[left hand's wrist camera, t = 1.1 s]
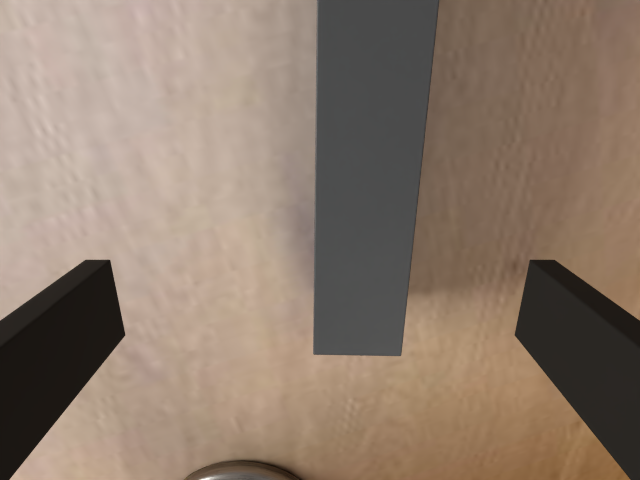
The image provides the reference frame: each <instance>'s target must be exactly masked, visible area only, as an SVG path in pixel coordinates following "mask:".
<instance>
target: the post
mask: <svg viewBox="0 0 640 480" xmlns="http://www.w3.org/2000/svg"><path fill="white" fill-rule="evenodd" d="M438 7H439V0H317V56H316V150H315V243H314V337H313V354H314V355H371V356H401V352H402V343H403V333H404V324H405V315H406V305H407V296H408V287H409V277H410V268H411V259H412V250H413V240H414V231H415V222H416V212H417V203H418V194H419V184H420V175H421V166H422V156H423V147H424V138H425V128H426V119H427V110H428V100H429V91H430V82H431V73H432V63H433V54H434V45H435V35H436V26H437V17H438Z"/></svg>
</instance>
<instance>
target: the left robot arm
mask: <svg viewBox="0 0 640 480" xmlns="http://www.w3.org/2000/svg"><path fill="white" fill-rule="evenodd" d="M124 336H125V331H124V326H123V321H122V316H121V311H120V306H119V302H118V297H117V292H116V287H115V282H114V277H113V272H112V267H111V262H110V260H85V261H83V262H82V263H81V264H79V265H78V266H76V267H75V268H74V269H72V270H71V271H69V272H68V273H67V274H65V275H64V276H62V277H61V278H60V279H58V280H57V281H55V282H54V283H53V284H51V285H50V286H48V287H47V288H46V289H44V290H43V291H41V292H40V293H39V294H37V295H36V296H34V297H33V298H32V299H30V300H29V301H27V302H26V303H25V304H23V305H22V306H20V307H19V308H18V309H16V310H15V311H13V312H12V313H11V314H9V315H8V316H6V317H5V318H3V319H2V320H1V321H0V480H9V479H10V478H11V477H12V476H13V474H14V473H15V472H16V471H17V469H18V468H19V467H20V466H21V464H22V463H23V462H24V461H25V459H26V458H27V457H28V456H29V454H30V453H31V452H32V451H33V449H34V448H35V447H36V446H37V444H38V443H39V442H40V441H41V439H42V438H43V437H44V436H45V435H46V433H47V432H48V431H49V430H50V428H51V427H52V426H53V425H54V423H55V422H56V421H57V420H58V418H59V417H60V416H61V415H62V413H63V412H64V411H65V410H66V408H67V407H68V406H69V405H70V403H71V402H72V401H73V400H74V398H75V397H76V396H77V395H78V393H79V392H80V391H81V390H82V388H83V387H84V386H85V385H86V383H87V382H88V381H89V380H90V378H91V377H92V376H93V375H94V373H95V372H96V371H97V370H98V368H99V367H100V366H101V365H102V363H103V362H104V361H105V360H106V359H107V357H108V356H109V355H110V354H111V352H112V351H113V350H114V349H115V347H116V346H117V345H118V344H119V342H120V341H121V340H122V339H123V337H124ZM515 336H516V337H517V339H518V340H519V341H520V342H521V344H522V345H523V346H524V347H525V349H526V350H527V351H528V352H529V354H530V355H531V356H532V357H533V359H534V360H535V361H536V362H537V363H538V365H539V366H540V367H541V368H542V370H543V371H544V372H545V373H546V375H547V376H548V377H549V378H550V380H551V381H552V382H553V383H554V385H555V386H556V387H557V388H558V390H559V391H560V392H561V393H562V395H563V396H564V397H565V398H566V400H567V401H568V402H569V403H570V405H571V406H572V407H573V408H574V410H575V411H576V412H577V413H578V415H579V416H580V417H581V418H582V420H583V421H584V422H585V423H586V425H587V426H588V427H589V428H590V430H591V431H592V432H593V433H594V435H595V436H596V437H597V438H598V439H599V441H600V442H601V443H602V444H603V446H604V447H605V448H606V449H607V451H608V452H609V453H610V454H611V456H612V457H613V458H614V459H615V461H616V462H617V463H618V464H619V466H620V467H621V468H622V469H623V471H624V472H625V473H626V474H627V476H628V477H629V478H630V479H631V480H640V321H639V320H638V319H637V318H635V317H634V316H632V315H631V314H629V313H628V312H627V311H625V310H624V309H622V308H621V307H620V306H618V305H617V304H615V303H614V302H613V301H611V300H610V299H608V298H607V297H606V296H604V295H603V294H601V293H600V292H599V291H597V290H596V289H594V288H593V287H592V286H590V285H589V284H587V283H586V282H585V281H583V280H582V279H580V278H579V277H578V276H576V275H575V274H573V273H572V272H571V271H569V270H568V269H566V268H565V267H564V266H562V265H561V264H559V263H558V262H557V261H555V260H530V262H529V267H528V272H527V277H526V282H525V287H524V292H523V297H522V302H521V306H520V311H519V316H518V321H517V326H516V331H515ZM184 480H300V479H298V478H297V477H295V476H294V475H292V474H290V473H288V472H286V471H284V470H282V469H279V468H276V467H274V466H270V465H267V464H262V463H256V462H246V461H233V462H224V463H218V464H214V465H210V466H207V467H204V468H202V469H200V470H197V471H196V472H194V473H192V474H191V475H189V476H188V477H186V478H185V479H184Z"/></svg>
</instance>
